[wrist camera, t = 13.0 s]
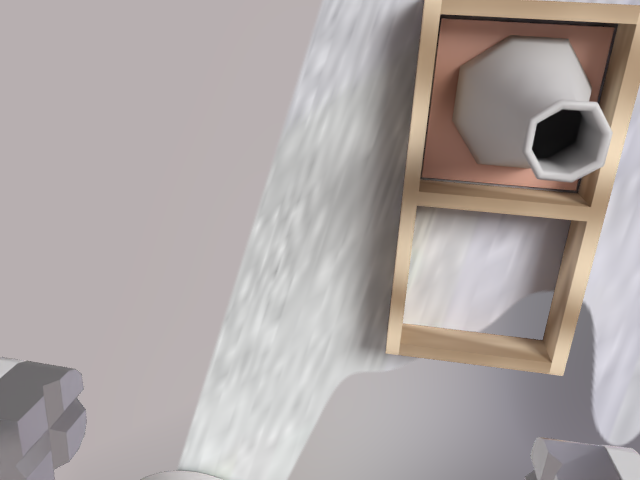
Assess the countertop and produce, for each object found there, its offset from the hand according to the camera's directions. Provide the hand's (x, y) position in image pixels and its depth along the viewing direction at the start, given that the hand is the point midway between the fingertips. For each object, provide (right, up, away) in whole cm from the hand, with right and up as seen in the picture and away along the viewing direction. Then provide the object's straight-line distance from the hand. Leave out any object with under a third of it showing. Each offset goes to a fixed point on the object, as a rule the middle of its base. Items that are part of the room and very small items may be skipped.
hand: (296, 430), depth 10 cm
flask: (+11, +11, +20) cm, 26 cm away
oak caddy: (+11, +6, +22) cm, 25 cm away
